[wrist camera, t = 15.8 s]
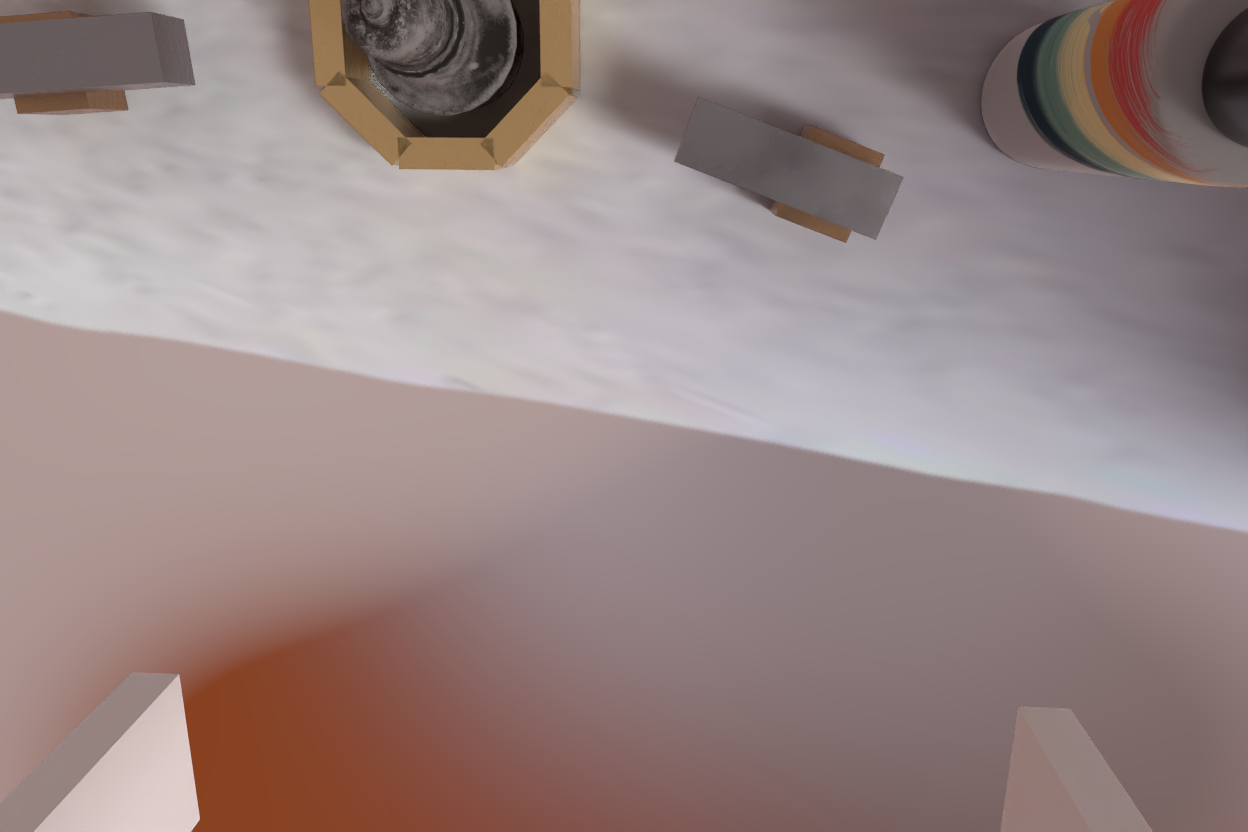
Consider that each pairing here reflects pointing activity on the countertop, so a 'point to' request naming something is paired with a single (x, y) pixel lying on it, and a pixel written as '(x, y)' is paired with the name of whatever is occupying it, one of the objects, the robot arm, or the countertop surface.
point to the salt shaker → (438, 49)
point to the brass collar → (410, 149)
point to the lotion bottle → (1128, 92)
